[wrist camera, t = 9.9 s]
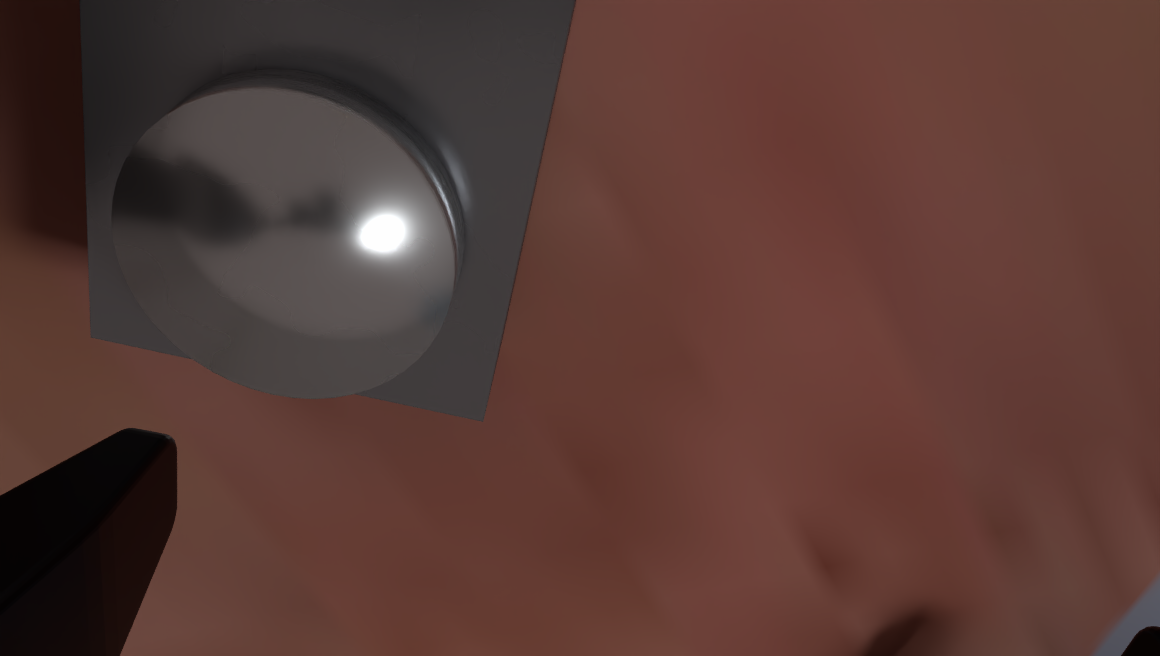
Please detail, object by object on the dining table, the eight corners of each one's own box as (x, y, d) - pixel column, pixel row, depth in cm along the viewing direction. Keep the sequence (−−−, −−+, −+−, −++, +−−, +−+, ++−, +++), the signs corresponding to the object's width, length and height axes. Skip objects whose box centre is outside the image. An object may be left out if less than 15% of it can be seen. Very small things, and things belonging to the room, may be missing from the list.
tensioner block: (152, 267, 23) (62, 370, 20) (156, -511, 16) (12, -573, 12) (501, 343, 24) (474, 458, 20) (657, -376, 16) (660, -398, 13)
